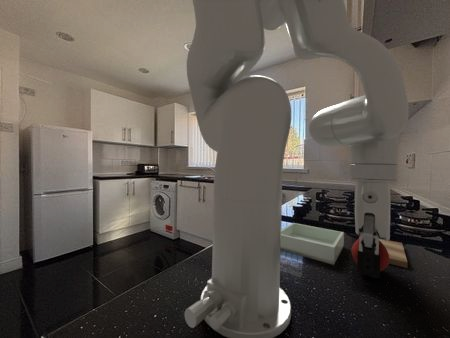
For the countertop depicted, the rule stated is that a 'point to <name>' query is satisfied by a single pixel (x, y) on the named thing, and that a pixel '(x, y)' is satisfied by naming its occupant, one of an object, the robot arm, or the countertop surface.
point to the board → (395, 253)
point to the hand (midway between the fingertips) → (369, 265)
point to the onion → (382, 251)
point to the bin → (312, 242)
